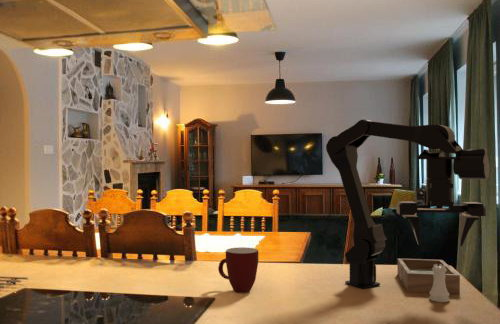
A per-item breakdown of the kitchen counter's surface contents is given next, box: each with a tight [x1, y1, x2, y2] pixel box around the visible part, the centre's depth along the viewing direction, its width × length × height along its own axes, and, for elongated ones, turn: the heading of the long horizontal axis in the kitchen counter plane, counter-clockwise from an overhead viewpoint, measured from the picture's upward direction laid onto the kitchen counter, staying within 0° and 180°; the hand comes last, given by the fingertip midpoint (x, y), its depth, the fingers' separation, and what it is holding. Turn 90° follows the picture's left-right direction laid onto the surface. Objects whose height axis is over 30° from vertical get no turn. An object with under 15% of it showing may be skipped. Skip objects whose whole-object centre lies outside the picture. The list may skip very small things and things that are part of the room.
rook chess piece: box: [428, 264, 451, 304], centre depth 108 cm, size 4×4×8 cm
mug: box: [217, 246, 259, 294], centre depth 116 cm, size 10×8×10 cm
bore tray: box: [397, 258, 461, 295], centre depth 123 cm, size 18×12×4 cm, turn 170°
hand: (439, 245), depth 109 cm, fingers open, 9 cm apart
